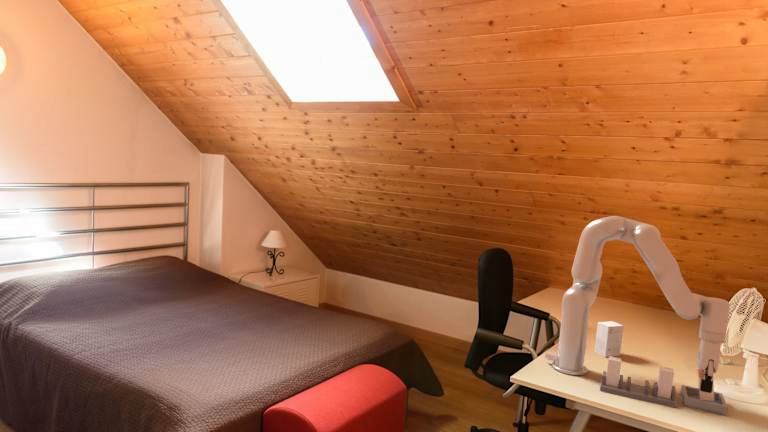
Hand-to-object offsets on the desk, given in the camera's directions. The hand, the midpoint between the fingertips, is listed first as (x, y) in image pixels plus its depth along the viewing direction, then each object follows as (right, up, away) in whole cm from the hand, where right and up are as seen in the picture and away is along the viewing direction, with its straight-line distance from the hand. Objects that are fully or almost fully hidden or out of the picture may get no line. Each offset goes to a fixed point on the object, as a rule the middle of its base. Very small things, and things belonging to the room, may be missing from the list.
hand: (704, 388), depth 180 cm
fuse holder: (-20, -3, +5) cm, 21 cm away
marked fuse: (0, -3, 0) cm, 3 cm away
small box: (-14, 0, +44) cm, 46 cm away
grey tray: (-1, -5, +1) cm, 5 cm away
